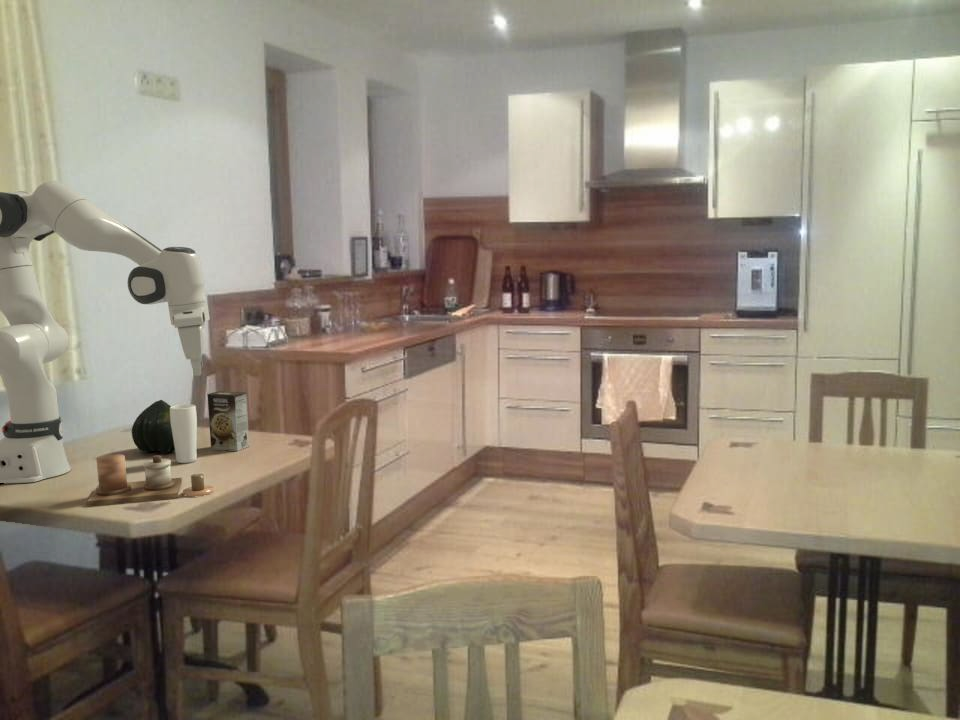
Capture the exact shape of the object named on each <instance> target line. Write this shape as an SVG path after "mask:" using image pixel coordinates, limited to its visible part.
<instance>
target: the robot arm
mask: <svg viewBox="0 0 960 720" xmlns="http://www.w3.org/2000/svg"><path fill="white" fill-rule="evenodd" d="M54 233H55V234H57V235H58V236H59V238H62V239H63V241H64V242H66V243H67V244H70V245H71V246H73V247H75V248H76V249H80V250H82V251H88V252H101V253H108V254H109V253H111V254H116V255H119V256H122V257H123V256H124V257H126V258H128V259H129V260H131V261H133V262H134V263H135V264H137V265H138V266H136V267H134V268H132V270H131V271H130V272H129V274H128V277H127V288H128V292H129V294H130V295H131V297H132V298H133V300H135V301H136V302H137V303H138V304H141V305H150V306H151V305H155V304H161V303H166V302H167V305H168V306H167V307H168V312H169V318H170V319H169V320H170V323H171V325H172V326H174V328H176V329H177V332H178V335H179V340H180V344H181V347H182V351H183V354H184V357H185V359H186V360H190V365H191V367H192V371H193V376H194V377H199V376H201V375H202V369H203V367H204V365H203V363H204V362H203V353H204V347H205V340H204V334H203V329H205V328H206V322H207V321H210V320H211V319H210V317H211V316H210V311H209V306H208V299H207V297H206V295H205V290H204V285H205V279H204V273H203V269H202V264H201V261H200V257H199V256H198V253H197V252H196V251H195V250H194V249H192V248H190V247H185V246H169V247H165V248H163V249H161V248H160V247H158V246H156V245H155V244H153V243H152V242H150V240H148V239H146V238H145V237H143V236H142V235H141V234H139V233H137V232H136V231H135V230H133V229H132V228H129V227H127V226H126V225H125V224H123V223H121V222H120V221H118V220H117V219H115V218H113V217H111V215H109V214H108V213H106V212H105V211H103V210H102V209H101V208H99V207H98V206H97V205H95V204H94V203H93V202H91V201H90V199H88V198H87V197H85V196H84V195H82V194H81V193H80V192H79V191H77V190H75V189H74V188H72V187H71V186H68V185H67V184H64V183H62V182H61V181H57V180H48V181H45V182H42V183H41V184H39V185H38V186H37V187H36V188H35V190H34V191H24V190H23V191H22V190H21V191H13V192H12V191H10V192H2V191H0V312H1V313H2V314H3V315H4V317H5V318H6V320H7V322H8V324H9V325H7V326H3V327H1V328H0V377H1V380H2V382H3V384H4V388H5V390H6V393H7V394H6V395H7V401H8V406H9V407H8V408H9V415H10V420H8V421H6V422H5V423H4V425H3V426H2V428H1V433H3V438H2V439H0V483H4V484H22V483H24V484H25V483H35V482H38V481H42V480H44V479H49V478H54V477H58V476H61V475H63V474H66V473H68V472H70V471H71V470H72V468H71V465H70V463H69V460H68V458H67V455H66V451H65V448H64V447H65V446H64V442H63V436H64V429H63V423H62V418H61V416H60V414H59V412H60V411H59V404H58V403H59V402H58V394H57V393H58V391H57V388H56V386H55V385H54V384H53V383H52V382H51V381H49V379H48V377H47V375H46V373H45V370H44V369H45V368H44V366H43V364H47V363H50V362H53V361H54V360H56V359H58V358H60V357H61V356H62V355H64V354H65V353H66V351H67V349H69V348H68V346H69V341H70V340H69V339H70V338H69V334H68V333H67V331H66V329H65V328H64V327H62V325H60V324H59V323H57V321H56V320H55V318H54V317H53V316H52V314H51V313H50V310H49V308H48V307H47V305H46V304H45V301H44V299H43V297H42V293H41V290H40V287H39V283H38V280H37V276H36V272H35V268H34V264H33V261H32V257H31V252H30V245H31V242H32V241H33V240H34V241H36V242H40V241H42V240H44V239H46V238H47V237H48V236H51V235H52V234H54Z"/></svg>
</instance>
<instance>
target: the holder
mask: <svg viewBox="0 0 960 720" xmlns="http://www.w3.org/2000/svg"><path fill="white" fill-rule="evenodd" d="M142 465H143V468H144V475H145V476H144V477H145V480H139V481H130V482H129V481H128V480H127V478H128V477H127V468H126V457H125V454H122V453H121V454H120V453H117V454H115V453H114V454H107V455H101V456H98V457H97V458H96V467H97V479H98V480H97V481H98V485H97V486H96V487H95V489H94V490H93V492H92V493H91V495H90V496H89V497H88V499H87V501H86V504H87V507H96V506H97V507H98V506H106V505H105V504H109V505H116V504H115V503H119V504H125V503H124V502H130V503H136V502H135V501H141V502H148V501H147V500H151V501H158V500H157V499H162V500H169V499H168V498H173V499H177V498H178V497H179V494H178V493H180V490H181V487H182V484H183V478H182V477H174V478H173V477H172V473H171V472H172V471H171V465H172V461H171V459H169V458H162V456H161V454H160V455H159V454H158V455H153V456H152V459H151V460H147V461H145V462H143V463H142ZM181 483H182V484H181ZM180 486H181V487H180ZM177 496H178V497H177ZM176 497H177V498H176Z"/></svg>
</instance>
